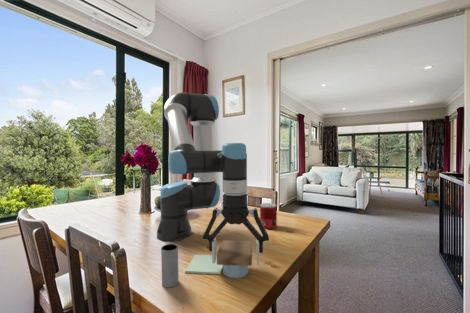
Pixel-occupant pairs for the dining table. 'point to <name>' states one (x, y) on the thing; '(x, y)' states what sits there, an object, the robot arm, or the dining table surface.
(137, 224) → the dining table surface
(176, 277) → the grey cylinder
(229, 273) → the bowl
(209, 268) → the mat
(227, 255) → the cover
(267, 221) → the canned food
